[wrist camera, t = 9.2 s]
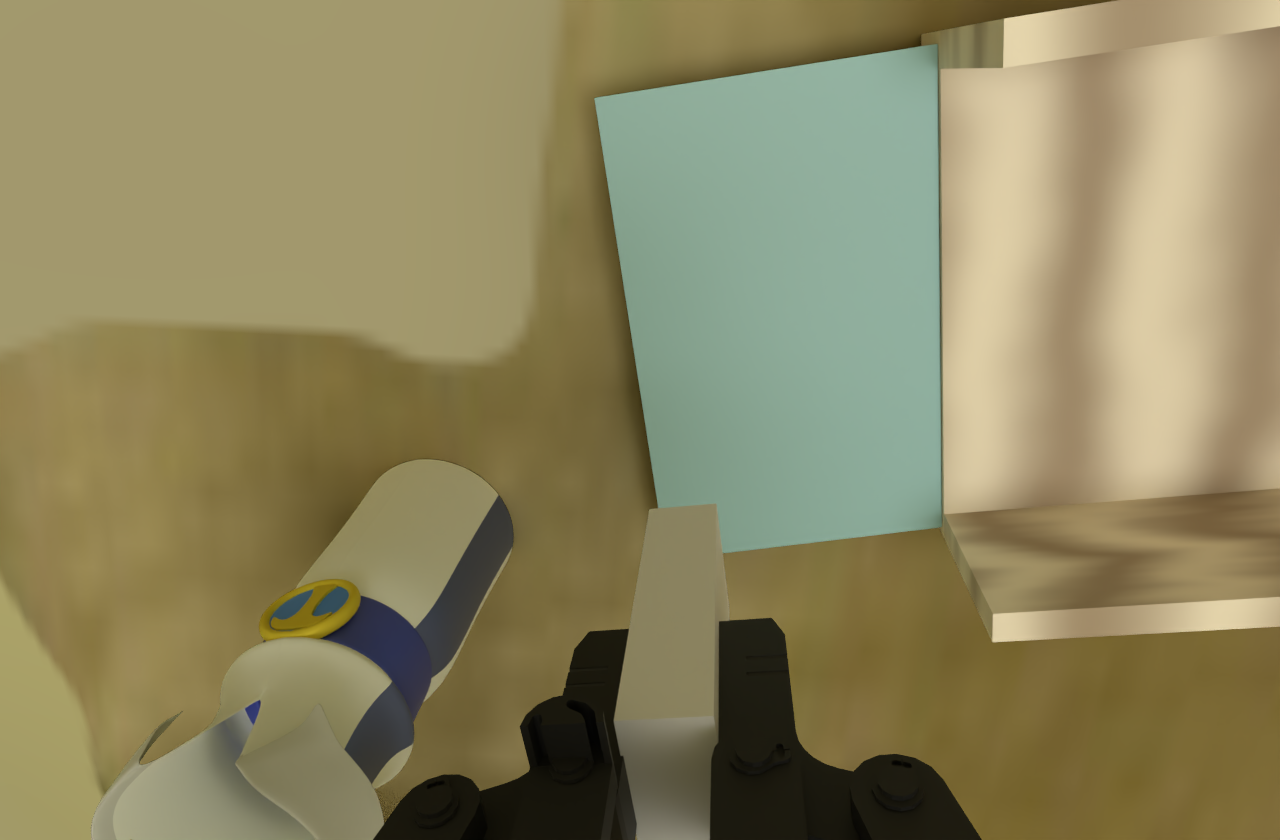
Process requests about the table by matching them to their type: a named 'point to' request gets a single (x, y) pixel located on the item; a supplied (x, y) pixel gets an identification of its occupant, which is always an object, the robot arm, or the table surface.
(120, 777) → the blue-banded white tube
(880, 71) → the teal flat panel
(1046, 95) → the crate
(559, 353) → the table surface
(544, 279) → the table surface
